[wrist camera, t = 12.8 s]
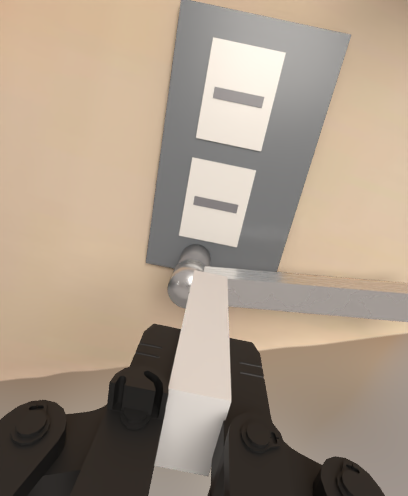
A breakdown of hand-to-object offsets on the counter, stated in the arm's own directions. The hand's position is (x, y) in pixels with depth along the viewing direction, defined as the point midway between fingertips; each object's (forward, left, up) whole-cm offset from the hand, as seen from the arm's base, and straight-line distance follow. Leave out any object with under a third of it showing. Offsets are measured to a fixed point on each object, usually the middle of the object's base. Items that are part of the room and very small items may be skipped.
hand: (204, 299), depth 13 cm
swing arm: (+10, -6, -16) cm, 20 cm away
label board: (+1, +4, -22) cm, 23 cm away
